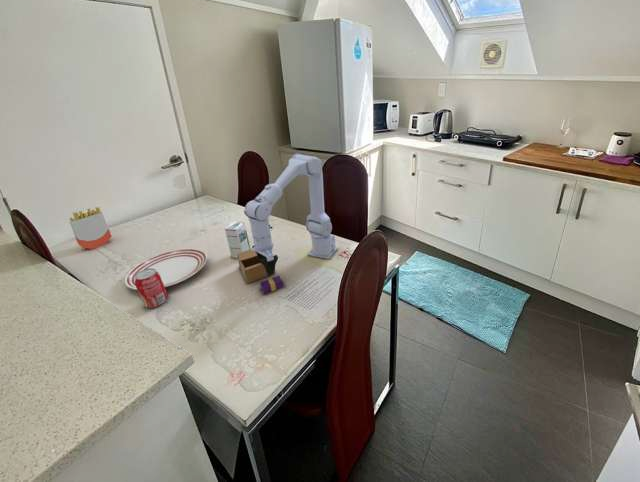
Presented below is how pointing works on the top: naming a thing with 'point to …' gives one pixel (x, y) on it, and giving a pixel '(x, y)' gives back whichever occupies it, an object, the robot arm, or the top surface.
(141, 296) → the soda can
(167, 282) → the dinner plate
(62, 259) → the top surface
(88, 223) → the french fries container
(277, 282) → the purple yarn skein
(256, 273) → the bin
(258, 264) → the bin flap
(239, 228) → the syrup box
